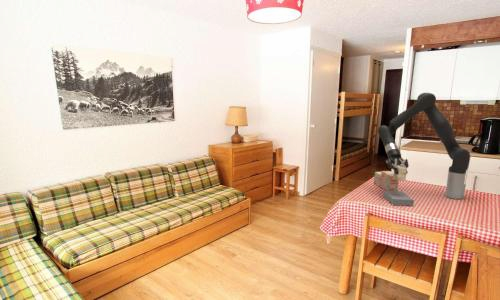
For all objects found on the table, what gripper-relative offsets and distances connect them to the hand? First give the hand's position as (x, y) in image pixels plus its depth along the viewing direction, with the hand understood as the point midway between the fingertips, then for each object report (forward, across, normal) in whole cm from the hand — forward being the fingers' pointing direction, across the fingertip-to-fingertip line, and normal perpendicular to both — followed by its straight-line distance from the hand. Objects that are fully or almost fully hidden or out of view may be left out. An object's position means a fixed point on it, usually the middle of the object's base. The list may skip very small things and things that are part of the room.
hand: (401, 173), depth 171 cm
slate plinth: (+12, 0, +14) cm, 19 cm away
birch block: (+2, 0, +4) cm, 5 cm away
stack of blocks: (-8, +8, +34) cm, 36 cm away
